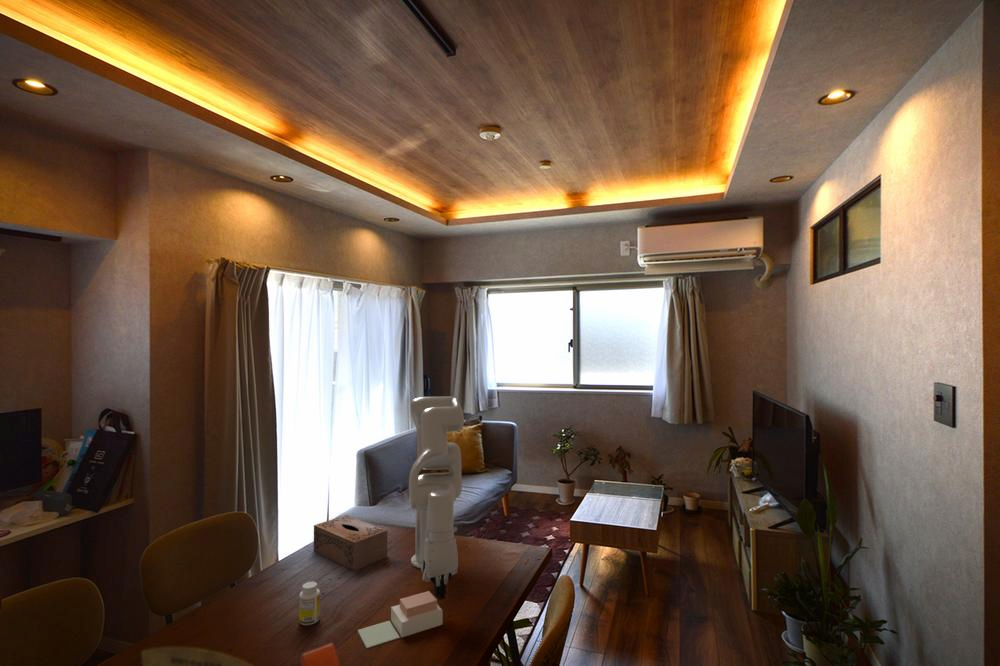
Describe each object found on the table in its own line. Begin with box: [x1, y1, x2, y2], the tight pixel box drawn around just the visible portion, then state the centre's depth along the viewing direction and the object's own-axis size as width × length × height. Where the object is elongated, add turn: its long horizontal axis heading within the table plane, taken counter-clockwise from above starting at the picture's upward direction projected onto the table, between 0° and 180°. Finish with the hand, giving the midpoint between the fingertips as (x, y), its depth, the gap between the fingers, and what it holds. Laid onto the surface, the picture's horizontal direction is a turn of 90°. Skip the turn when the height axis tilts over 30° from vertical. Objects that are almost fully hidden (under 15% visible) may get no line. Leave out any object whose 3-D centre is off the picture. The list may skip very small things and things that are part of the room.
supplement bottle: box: [298, 581, 321, 626], centre depth 140 cm, size 6×6×10 cm
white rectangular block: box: [390, 603, 444, 638], centre depth 140 cm, size 12×9×4 cm
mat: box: [357, 620, 401, 649], centre depth 134 cm, size 9×9×1 cm
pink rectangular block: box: [399, 590, 438, 618], centre depth 140 cm, size 9×6×2 cm, turn 121°
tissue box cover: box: [313, 514, 388, 571], centre depth 185 cm, size 26×14×10 cm, turn 52°
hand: (440, 597), depth 143 cm, fingers closed
